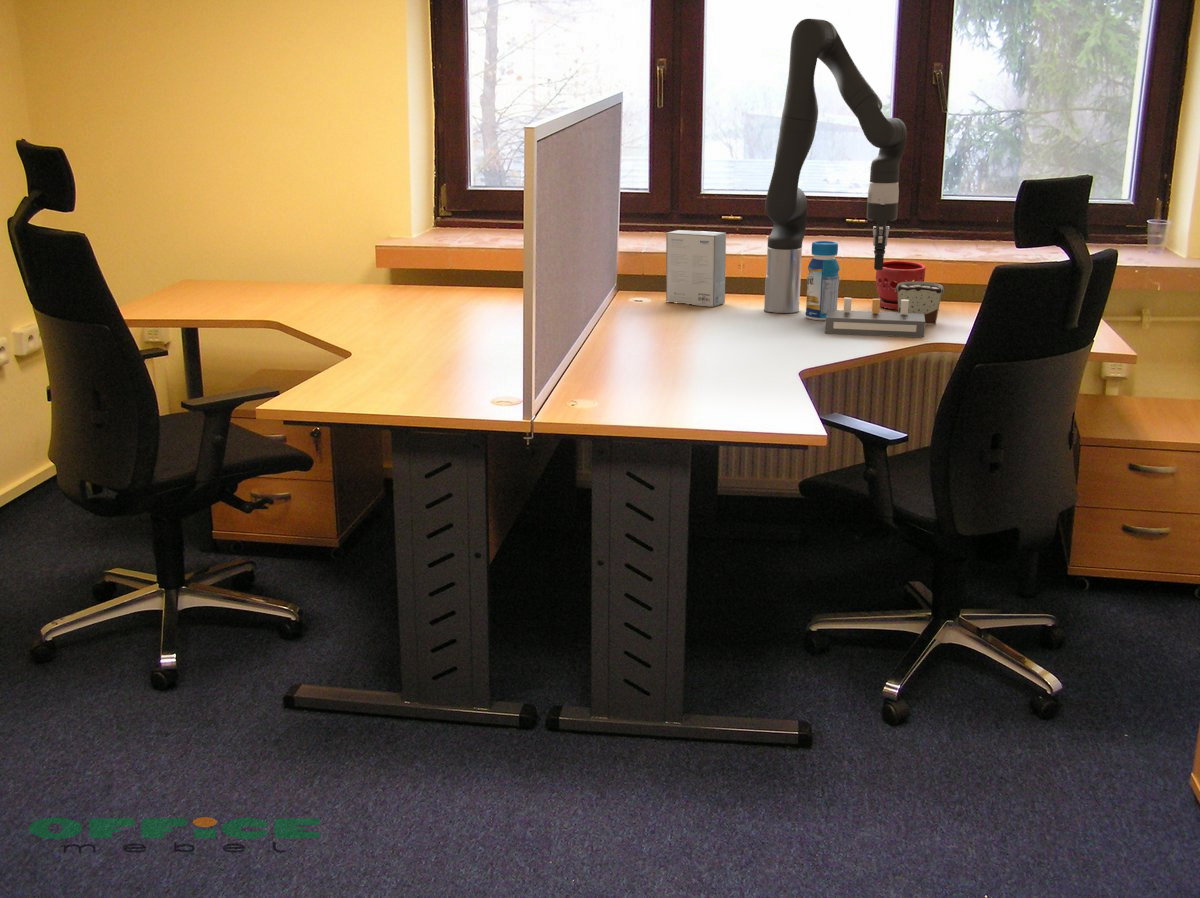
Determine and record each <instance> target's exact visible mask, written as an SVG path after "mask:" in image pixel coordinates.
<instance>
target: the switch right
mask: <svg viewBox="0 0 1200 898" xmlns="http://www.w3.org/2000/svg"><path fill="white" fill-rule="evenodd" d="M908 305H909V300H901V311H900V314H903V315H908Z"/></svg>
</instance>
